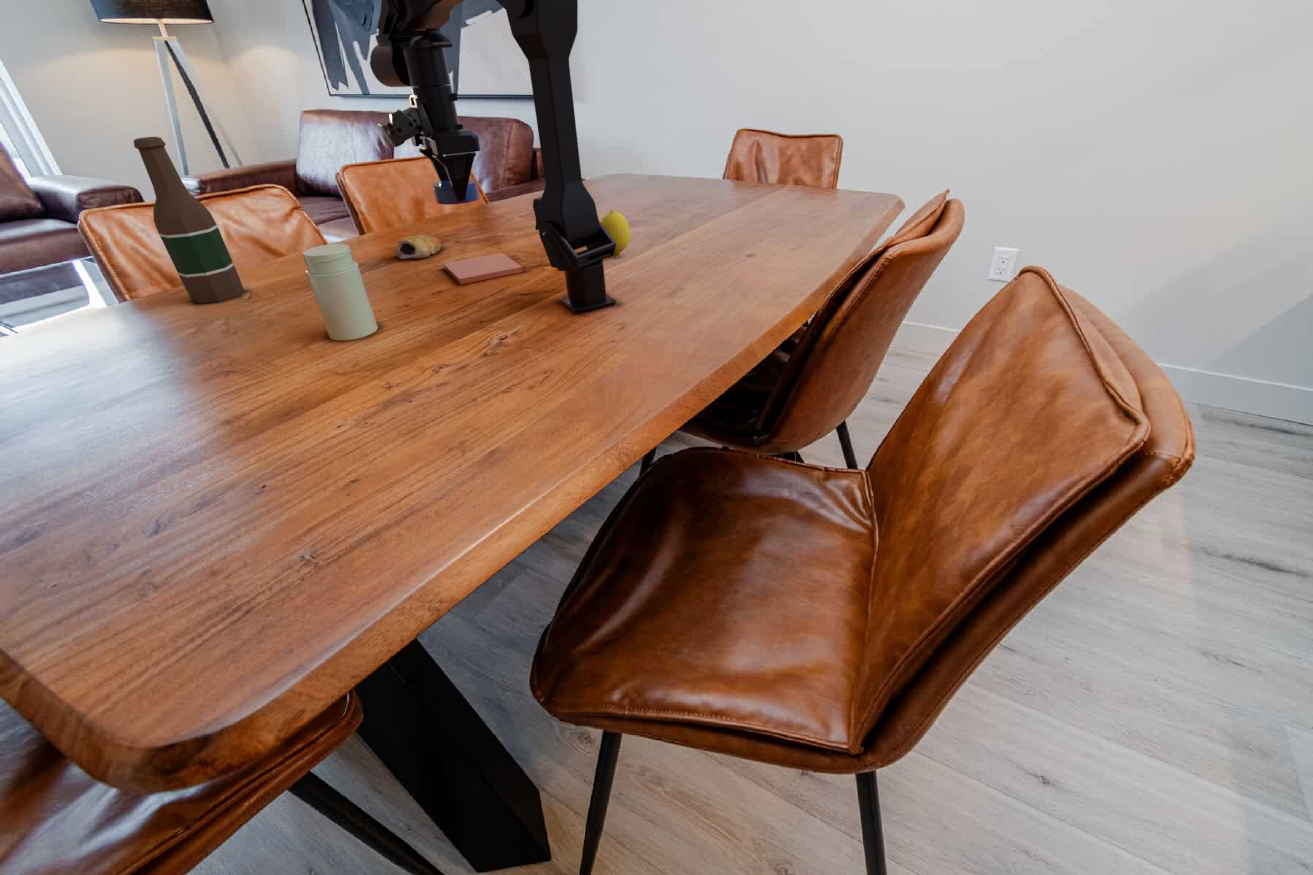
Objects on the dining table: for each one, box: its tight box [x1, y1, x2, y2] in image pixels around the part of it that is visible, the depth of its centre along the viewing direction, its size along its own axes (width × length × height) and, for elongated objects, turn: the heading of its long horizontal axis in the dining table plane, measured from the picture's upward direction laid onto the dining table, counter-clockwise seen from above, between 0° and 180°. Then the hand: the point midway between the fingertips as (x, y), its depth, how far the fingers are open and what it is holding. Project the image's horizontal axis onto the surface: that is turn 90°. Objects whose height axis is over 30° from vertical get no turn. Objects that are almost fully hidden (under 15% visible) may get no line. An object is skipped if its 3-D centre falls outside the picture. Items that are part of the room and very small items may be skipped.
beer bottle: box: [133, 136, 244, 305], centre depth 94 cm, size 8×8×24 cm
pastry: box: [394, 234, 442, 260], centre depth 117 cm, size 9×7×4 cm
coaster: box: [443, 252, 524, 285], centre depth 106 cm, size 11×11×1 cm
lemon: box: [600, 209, 631, 257], centre depth 108 cm, size 6×6×8 cm
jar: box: [302, 243, 379, 342], centre depth 81 cm, size 6×6×11 cm
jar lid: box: [432, 178, 480, 206], centre depth 97 cm, size 7×7×3 cm
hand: (455, 197), depth 97 cm, fingers closed on jar lid, 7 cm apart
